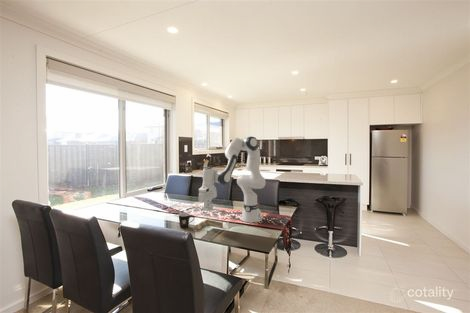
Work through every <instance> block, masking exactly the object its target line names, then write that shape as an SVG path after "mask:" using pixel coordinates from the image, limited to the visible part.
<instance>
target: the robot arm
mask: <svg viewBox="0 0 470 313" xmlns="http://www.w3.org/2000/svg"><path fill="white" fill-rule="evenodd" d="M258 142H259V141H258V139H257V138H256V137H254V136H246V137H244V138H239V137H235V138H233V139H232V140H231V141H230V142H229V144H228V146H226V149H225V151H224V155H225V158H226V159H227V160H228V162H227V165H226V167H225V169H224V170H220V169H219V170H218V169H216V168H214V167H213V166H206V167H204V168H203V170H202V185H201V187H200V188H198V192H199V193H198V201H199V203H204V202H205V204H206V206H209V204H208V202H212V201H213V199H216V198H217V197H218V190H217V187H216V186H215V183H218V184H220V185H223V186H225V185H228V184H229V183H230V182H231V178H232V176H233V172H234V170H235V168H236V165H237V162H238V159H239V158H238V156H239V154H240V152H245V151H246V153H247V159H246V166H245V167H246V169H247V170H248V171H249V172H250V174H251V175H249V174H240V175H238V176H237V178H236V184H237V186H239V188H240V189H241V190H242V193H243V197H244V198H243V200H244V201H243V208H242V209H241V210H242V211H241V213H242V214H241V217H240V219H241V220H242V221H243V222H244V223H250V224H251V223H252V224H253V222H254V223H261V222H262V220H263V219H262V218H264V215H262V211H261V209H260V208H259V205H260V203H259V202H258V194H257V193H256V192H255V191H253V190H252V189H255V190H261V189H264V188H265V186H266V179H265V177H263V175H262V173H261V172H260V162H261V150H260V148H259V143H258ZM212 203H213V202H212ZM260 221H261V222H260Z"/></svg>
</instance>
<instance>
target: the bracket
mask: <svg viewBox="0 0 470 313" xmlns="http://www.w3.org/2000/svg"><path fill="white" fill-rule="evenodd" d="M208 204H209V206H206V204H205V202H203V206H202V207H201V211H205V212H210V211H211V212H212V211H213V210H214V203H213V202H209V201H208Z"/></svg>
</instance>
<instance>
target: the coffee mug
mask: <svg viewBox="0 0 470 313" xmlns="http://www.w3.org/2000/svg"><path fill="white" fill-rule="evenodd" d="M190 218H193V219H192V220H191V221H190ZM194 220H195V216H194V215H191V214H190V213H188V212H181V213H179V214H178V222H179V227H180V229H189V225H190V223H192V222H193V221H194Z"/></svg>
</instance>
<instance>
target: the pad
mask: <svg viewBox="0 0 470 313" xmlns="http://www.w3.org/2000/svg"><path fill="white" fill-rule="evenodd" d="M213 229H214V228H213V227H209V226H204V227H202V228H201V230H202V231H208V232H210V231H212V230H213Z"/></svg>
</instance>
